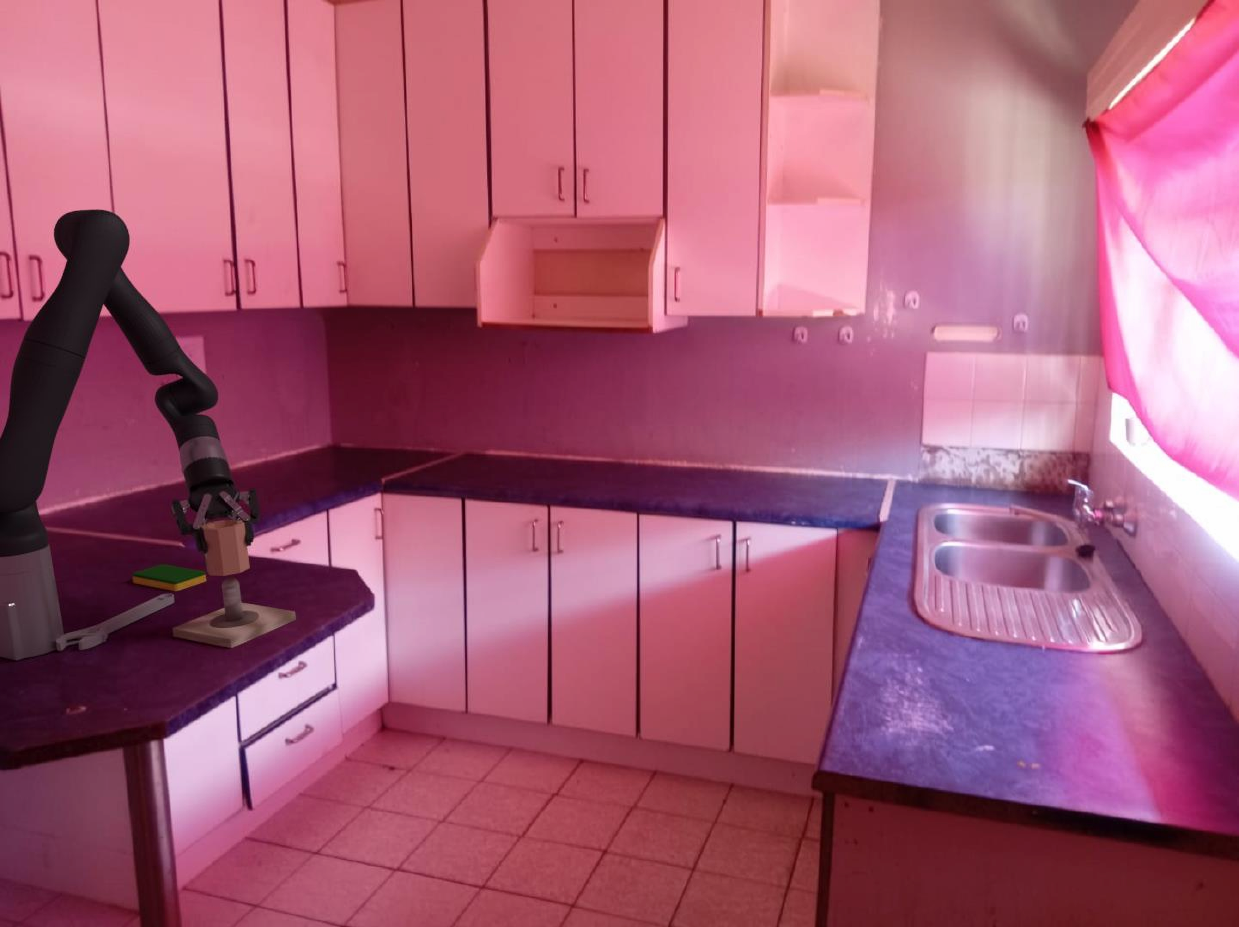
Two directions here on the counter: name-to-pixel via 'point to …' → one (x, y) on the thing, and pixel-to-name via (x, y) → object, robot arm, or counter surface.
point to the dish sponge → (169, 577)
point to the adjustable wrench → (112, 624)
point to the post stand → (233, 620)
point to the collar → (226, 547)
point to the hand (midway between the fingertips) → (227, 547)
